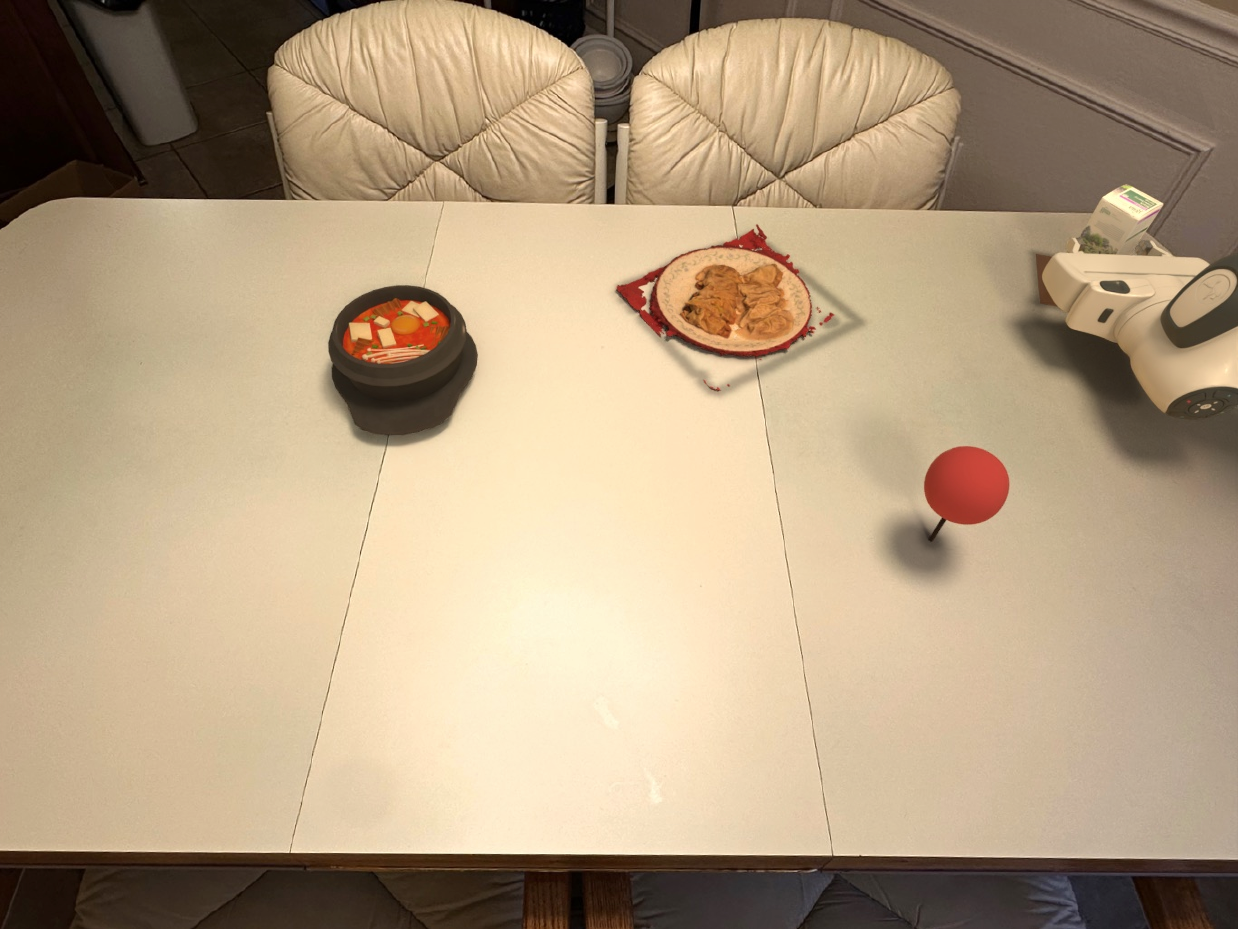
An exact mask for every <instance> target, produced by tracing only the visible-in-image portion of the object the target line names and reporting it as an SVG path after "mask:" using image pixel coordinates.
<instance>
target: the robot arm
mask: <svg viewBox="0 0 1238 929" xmlns="http://www.w3.org/2000/svg"><path fill="white" fill-rule="evenodd" d="M1085 246H1086V243H1085V242H1084V241H1083V238H1079V237H1070V238H1069V239H1068V240H1067V242H1066V244H1065V248H1064V249H1065V251H1066V252H1064V251H1063V252H1062V251H1061V252H1055V253H1054V255H1052V256H1051V257H1052V258H1051V259H1050V261H1049V262H1048V264H1047V265H1046V267H1045V269H1044V271H1043V274H1042V279H1043V282H1044V284H1045V287H1046V289H1047V290H1048V292H1049V294H1050V296H1051V297H1052V299H1053V301H1054V302H1055V304H1056V305H1057V306H1058V307H1057V306H1056V307H1057V308H1059V309H1060V311H1061V310H1062V311H1063V312H1065V313H1067V315H1066V316H1065V323H1066V325H1067V326H1068V328H1070V329H1071V330H1073V331H1074V330H1075V331H1078V332H1082V333H1086V334H1090V335H1094V336H1097V337H1099V338H1103V339H1104V340H1107V341H1109V342H1112V343H1117V345H1118V346H1119V348H1120V349H1121V351H1122V352H1123V353H1124V354H1126V355H1127V356H1128V357H1129V360H1130V361H1129V362H1130V368H1131V371H1132V372H1133V374H1134V376H1135V378H1136V380H1137V381H1138V383H1139V384H1140V387H1141V388H1142V389H1143V391H1144V392H1145V394H1146V395H1147V397H1148V398H1149V399H1150V401H1151V402H1152V403H1153V404H1154V405H1155V406H1156V408H1158V410H1160V411H1161V412H1162V413H1163V414H1165V415H1167V416H1170V417H1173V418H1178V419H1181V420H1182V419H1184V420H1193V421H1194V420H1202V419H1209V418H1213V417H1217V416H1220V415H1222V414H1225V413H1227V412H1230V411H1231V410H1233V409H1235V408H1236V407H1238V252H1235V253H1231V254H1229V255H1226V256H1223V257H1222V258H1219V259H1217V260H1215V261H1214V262H1212V263H1209V262H1208V261H1206V260H1204V259H1202V258H1201V257H1194V256H1193V257H1192V256H1189V257H1188V256H1187V257H1186V256H1173V254H1172V253H1170V252H1168V251H1166V250H1164V249H1163V248H1160V247H1158V246H1157V244H1156V243H1155V241H1154V240H1153V239H1152V240H1151V239H1150V240H1149V239H1147V240H1146V239H1145V240H1143V239H1142V240H1141V239H1140V241H1139V242H1138V244H1137V245H1136V246H1135V248H1134V253H1135V255H1134V254H1130V255H1114V254H1087V253H1083V252H1082V250H1083V249H1084V248H1085Z"/></svg>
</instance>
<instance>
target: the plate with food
mask: <svg viewBox="0 0 1238 929" xmlns="http://www.w3.org/2000/svg"><path fill="white" fill-rule="evenodd" d="M755 227H756V229H757V231H758V234H757V233H756V232H755V228H752V229H750V230H749V231H748V232H747V233H745V234H742V235H741V236H740V238H735V239H732V240H730V241H725V242H724V243H723V245H722V244H717V245H711V246H710V247H707V248H706V247H705V248H698V249H693V250H689V251H687V252H685V253H681V254H679V255H678V256H675V257H674V258H672V259H671V261H670V262H668V263H667V264H666V265H664V266H661V267H659V268H657V269H655V270H652V271H649V272H648V273H647V274H645V275H644V276H643V277H641V278H638V279H635V280H633V281H631V282H629V283H625V284H621V285H620V284H617V286H616V290H617V292H618V293H620V294H621V295H622V297H623V299H626V301H628V303H629V305H630V306H631V307H632V308H633V309H635V310H637V311H639V314H640V315H641V318H642V320H644V322H645V323H647V325H648V326H649V327H650V328H651V329H652V330H653V331H654V332H655V333H656V334H658V335H659V337H660V338H662V335H664V334H665V335H666V337H669V338H670V337H672V336H676V337H678V338H680V339H682V340H684V342H686V343H688V344H691V345H693V346H695V347H698V348H700V349H703V350H705V351H708V352H712V353H716V354H718V355H720V356H721V357H722V356H726V355H729V356H736V357H745V358H747V357H750V358H751V357H755V358H757V357H759V356H762V355H768V354H770V353H773V352H776V351H780V350H789V349H790V347H791V345H792V344H793V342H795V341H797V340H798V339H799V337H800V336H803V338H807V333H808V332H810V333H811V334H815V331H814V330H817V328H816V327H815V326H811V325H809V326H808V324H809V321H810V320H811V319H812V316H813V314H812V313H813V310H812V309H813V305H812V303H813V302H812V300H811V299H810V298H811V295H810V294H811V293H810V291H809V289H808V287H807V284H806V282H805V280H803V279H802V278H801V277H800V275H798V274H800V270H799V269H798V268H794V263H793V261H790V262H788V260H789V259H790V258H791V255H790V254H786V255H783V254H782V253H780V252H775V250H773V249H772V248H771V247H770V246H769V245H768V244H767V242H766V240H767V239H768V236H767V235H766V234H765V233H764V231H763V230H762V229H761V228H760V226H759V224H758V223H756V224H755ZM654 281H655V282H654ZM651 282H654V285H653V286H652V292H651V294H650V296H651V297H650V302H649V305H650V306H649V310H650V313H648V311H647V310H646V309H642V308H643V307H644V306H645V305H646V304H647V300H648V299H647V298H646V296H644V295H643V294H644V293H645V290H643V289H641V288H640V287H643V286H646V285H648V284H649V283H651ZM815 310H816V311H818V312H817V313H818V314H821V313H822V310H821V309H820V307H819V306H816V307H815ZM828 314H829V315H827V316H826V317H825V318H824V319H823V322H819V323H818V324H819V326H821V327H822V326H823V324H824V323H828V322H829V321H830V320H832V318H833V317H834V316H835V313H833V312H829V313H828ZM663 329H665V330H663ZM667 329H668V330H667ZM803 346H804V345H803ZM751 359H752V358H751ZM758 361H762V358H758ZM703 382H704V383H705V384H707V381H706V380H705V379H703ZM726 386H727V387H730V383H727V385H726ZM710 388H711V389H713V390H716V391H721V389H720V387H718V386H717V387H716V388H715V387H714V386H710Z"/></svg>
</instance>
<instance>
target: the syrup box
mask: <svg viewBox="0 0 1238 929" xmlns="http://www.w3.org/2000/svg"><path fill="white" fill-rule="evenodd" d="M1163 206H1164V203H1163V202H1161V201H1160V200H1157V199H1156V198H1154V197H1152V196H1150V195H1149V194H1147V193H1145V192H1143V191H1141V190H1139V189H1138V188H1135V187H1134V186H1132V185H1130V184H1128V183H1126V184H1123V185H1121V186H1119V187H1117V188H1115V189H1113V190H1112V191H1110V192H1108V193H1107V194H1105V195H1104V196H1102V197H1101V199H1100V200H1099V202H1098V204H1097V205H1096V207H1095V209H1094V211H1093V212H1092V214H1091V215H1090V217H1089V219H1088V221H1087V222H1086V224H1085V226H1084V228H1083V229H1082V231H1081V233H1080V235H1079V236H1078V238H1083V241H1084V242H1085V243H1086V246H1085V248H1084V249H1083V250H1082V252H1083V253H1087V254H1114V255H1132V253H1133V251H1134V250H1135V247H1136V246H1137V245H1138V243H1139V241H1141V239H1142V238H1143V236H1144V234H1146V232H1147V230H1148V229H1149V228H1150V226H1151V224H1153V222H1154V221H1155V219H1156V217H1157V215H1158V214H1159V212H1160V211H1161V209H1162V208H1163Z"/></svg>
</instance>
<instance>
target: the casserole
mask: <svg viewBox="0 0 1238 929" xmlns="http://www.w3.org/2000/svg"><path fill="white" fill-rule="evenodd" d="M327 345H328V346H327V348H328V349H327V350H328V355H329V357H330V360H331V362H332V365H331V379H332V384H333V386H334V388H335V390H336V391H337V392H338V394H339V395H340V397H341V398H342V400H343V401H344V403H345V404H346V405H347V408H348V410H349V413H350V416H351V418H352V421H353V423H354V425H355V426H356V427H357V428H359V429H360V430H361V431H364V432H367V433H370V434H373V435H380V436H405V435H412V434H417V433H421V432H424V431H428V430H430V429H434V428H435V427H437V426H439V425H441V424H444V422H446V421H447V420H448V419H449V418H450V417H451V416H452V414H453V412H454V410H455V407H456V405H457V402H458V401H459V398H460V395H461V394H462V392H463V391H464V389H465V388H466V386H467V385H468V384H469V382H470V381H471V379H472V378H473V376H474V374H475V371H476V369H477V366H478V356H479V354H478V349H477V348H478V347H477V344H476V343H475V340H474V339H473V337H472V335H471V334H470V333H469V332H468V330H467V325H466V320H465V318H464V316H463V315H462V313H461V312H460V310H458V309H457V308H456V307H455V305H453V304H451V303H450V302H449V300H448V299H447V298H446V297H444V296H443V295H442V294H440V293H439V292H436V291H435V290H432V289H430V288H426V287H423V286H418V285H409V284H401V285H399V284H398V285H397V284H396V285H389V286H384V287H380V288H376V289H373V290H370V291H368V292H366V293H363V294H361V295H359V296H358V297H356V298H354V299H353V300H351V301H349V303H348V304H346V305H345V306H344V307H343V308H342V310H341V311H340V312H339V313H338V314H337V316H336V318H335V320H334V322H333V326H332V329H331V332H330V334H329V338H328V342H327Z"/></svg>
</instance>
